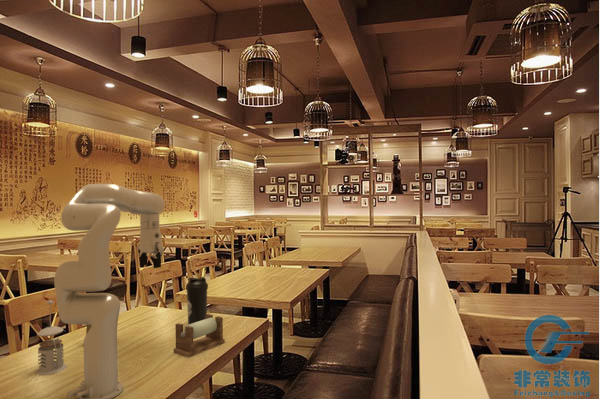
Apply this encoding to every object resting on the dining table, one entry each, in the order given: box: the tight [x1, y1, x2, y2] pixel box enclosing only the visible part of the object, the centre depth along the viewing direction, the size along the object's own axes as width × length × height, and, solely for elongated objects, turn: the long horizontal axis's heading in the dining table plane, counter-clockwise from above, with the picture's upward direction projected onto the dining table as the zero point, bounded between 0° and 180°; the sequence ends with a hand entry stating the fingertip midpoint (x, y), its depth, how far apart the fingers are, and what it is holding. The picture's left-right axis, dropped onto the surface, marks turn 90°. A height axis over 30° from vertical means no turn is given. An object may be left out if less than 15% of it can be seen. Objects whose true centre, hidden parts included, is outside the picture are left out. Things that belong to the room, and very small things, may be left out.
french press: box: [34, 299, 68, 376], centre depth 148 cm, size 10×12×25 cm
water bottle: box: [185, 276, 209, 325], centre depth 197 cm, size 10×10×23 cm
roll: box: [180, 317, 217, 340], centre depth 168 cm, size 19×6×6 cm
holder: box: [173, 313, 226, 358], centre depth 169 cm, size 19×9×11 cm, turn 144°
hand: (150, 266), depth 172 cm, fingers open, 9 cm apart
